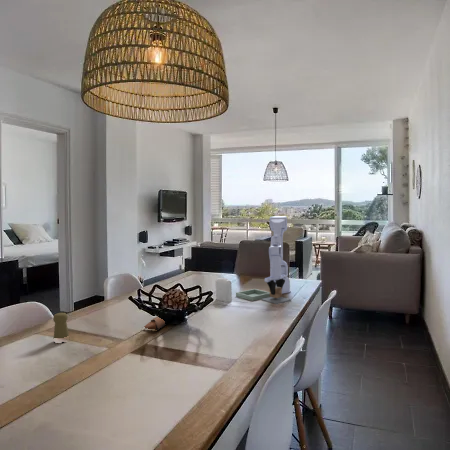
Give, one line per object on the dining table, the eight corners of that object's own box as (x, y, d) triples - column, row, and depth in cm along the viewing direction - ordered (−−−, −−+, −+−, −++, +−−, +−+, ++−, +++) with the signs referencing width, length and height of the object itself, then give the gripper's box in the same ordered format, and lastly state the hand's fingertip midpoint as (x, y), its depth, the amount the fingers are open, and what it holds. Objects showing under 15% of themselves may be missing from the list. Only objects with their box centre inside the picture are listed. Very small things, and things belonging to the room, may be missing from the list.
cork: (73, 339, 156) (71, 311, 156) (62, 344, 150) (60, 316, 150) (60, 337, 158) (59, 310, 158) (49, 343, 152) (48, 315, 152)
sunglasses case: (156, 318, 182) (163, 306, 181) (169, 326, 180) (176, 314, 179) (139, 331, 164) (146, 317, 163) (153, 340, 163) (160, 327, 162)
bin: (254, 293, 228) (254, 288, 228) (271, 297, 217) (271, 292, 217) (236, 297, 219) (235, 292, 219) (252, 301, 208) (252, 296, 208)
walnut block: (275, 295, 212) (274, 285, 211) (281, 296, 208) (281, 287, 208) (269, 296, 209) (269, 287, 209) (276, 298, 205) (276, 288, 205)
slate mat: (276, 297, 216) (276, 295, 216) (291, 301, 207) (291, 299, 207) (261, 300, 209) (261, 298, 209) (276, 304, 201) (276, 302, 201)
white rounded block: (214, 299, 214) (214, 277, 214) (221, 298, 217) (220, 276, 216) (226, 303, 206) (226, 279, 206) (233, 301, 209) (232, 278, 208)
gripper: (271, 270, 200) (271, 297, 201) (290, 267, 209) (291, 292, 209) (261, 269, 205) (262, 295, 206) (281, 266, 214) (281, 290, 215)
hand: (276, 293), depth 208 cm, fingers closed on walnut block, 4 cm apart
